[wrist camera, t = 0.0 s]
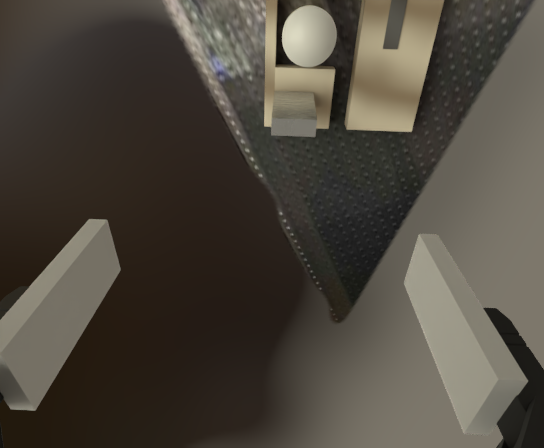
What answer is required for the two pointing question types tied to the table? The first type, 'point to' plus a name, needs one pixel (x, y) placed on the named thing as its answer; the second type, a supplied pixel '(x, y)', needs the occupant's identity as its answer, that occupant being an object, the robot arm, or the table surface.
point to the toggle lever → (294, 114)
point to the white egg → (309, 36)
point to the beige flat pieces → (366, 66)
